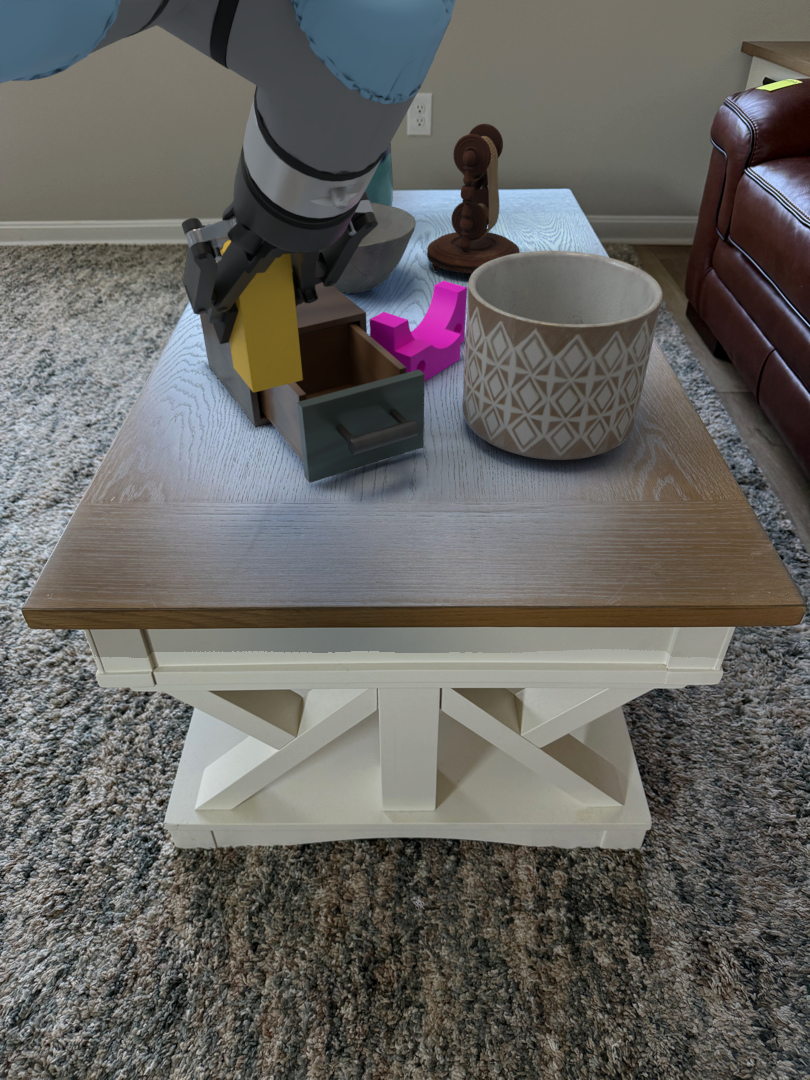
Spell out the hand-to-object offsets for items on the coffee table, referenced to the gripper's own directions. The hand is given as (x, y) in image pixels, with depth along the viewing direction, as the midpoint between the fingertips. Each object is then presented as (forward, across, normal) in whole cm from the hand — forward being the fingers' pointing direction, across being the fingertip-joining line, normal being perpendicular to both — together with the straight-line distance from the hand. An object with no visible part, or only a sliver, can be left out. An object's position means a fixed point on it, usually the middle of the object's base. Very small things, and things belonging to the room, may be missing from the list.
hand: (248, 322), depth 68 cm
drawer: (+15, +10, -10) cm, 21 cm away
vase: (+59, +41, +33) cm, 79 cm away
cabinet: (+28, +10, +2) cm, 30 cm away
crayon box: (0, 0, -5) cm, 5 cm away
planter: (+11, +32, -15) cm, 37 cm away
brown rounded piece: (+43, +51, +17) cm, 69 cm away
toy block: (+25, +28, -1) cm, 38 cm away
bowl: (+44, +30, +17) cm, 56 cm away
